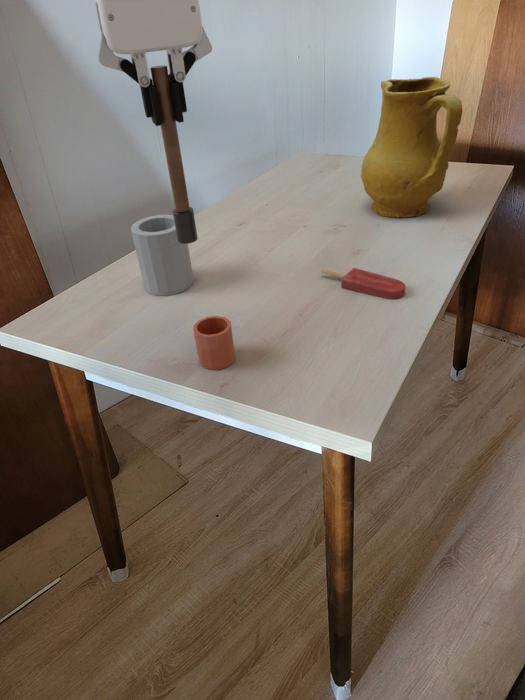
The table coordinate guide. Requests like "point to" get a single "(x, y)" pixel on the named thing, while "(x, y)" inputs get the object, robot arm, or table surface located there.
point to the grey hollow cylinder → (162, 256)
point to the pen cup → (214, 342)
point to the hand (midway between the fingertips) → (167, 120)
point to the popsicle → (370, 283)
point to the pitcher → (410, 146)
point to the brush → (174, 158)
